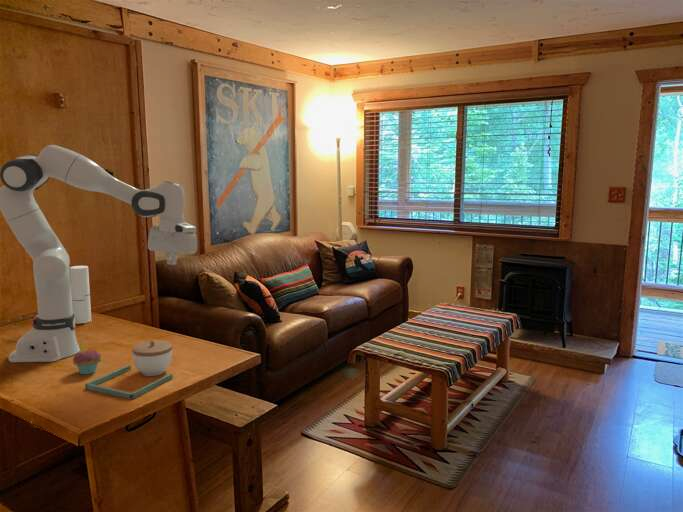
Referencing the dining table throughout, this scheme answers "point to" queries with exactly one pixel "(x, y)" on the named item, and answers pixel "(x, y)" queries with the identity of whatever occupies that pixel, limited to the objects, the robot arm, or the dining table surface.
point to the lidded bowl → (152, 357)
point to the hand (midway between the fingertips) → (171, 264)
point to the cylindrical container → (80, 294)
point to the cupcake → (86, 360)
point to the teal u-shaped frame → (94, 386)
